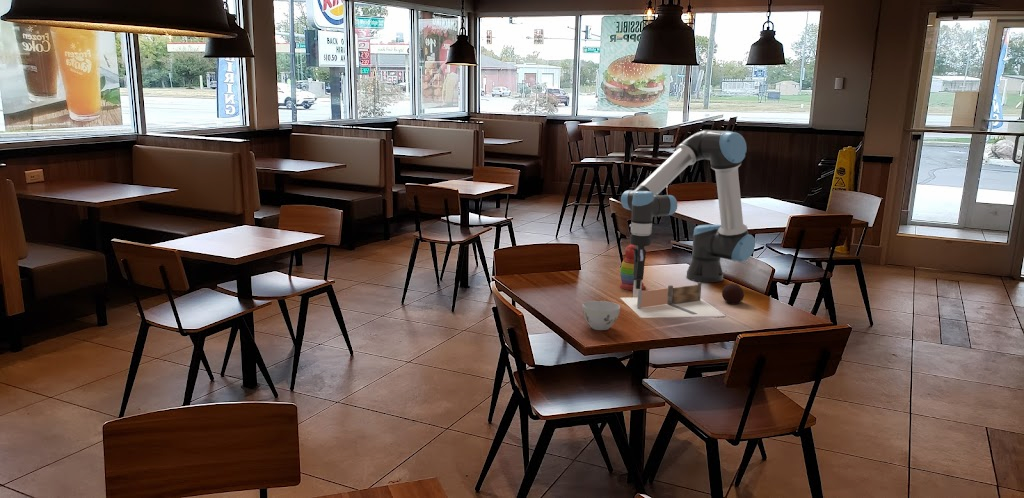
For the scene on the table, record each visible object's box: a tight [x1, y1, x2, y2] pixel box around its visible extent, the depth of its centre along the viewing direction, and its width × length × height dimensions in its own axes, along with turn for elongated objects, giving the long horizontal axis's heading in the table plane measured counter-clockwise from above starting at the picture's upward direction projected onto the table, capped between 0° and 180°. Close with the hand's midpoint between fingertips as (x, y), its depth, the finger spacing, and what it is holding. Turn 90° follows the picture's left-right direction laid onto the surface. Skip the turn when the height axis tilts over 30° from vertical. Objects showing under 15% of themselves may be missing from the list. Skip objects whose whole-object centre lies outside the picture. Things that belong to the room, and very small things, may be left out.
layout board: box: [620, 296, 727, 319], centre depth 279 cm, size 31×26×1 cm
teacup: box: [581, 300, 621, 331], centre depth 254 cm, size 15×12×8 cm
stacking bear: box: [619, 244, 647, 291], centre depth 305 cm, size 11×10×18 cm
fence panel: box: [637, 287, 668, 308], centre depth 277 cm, size 13×1×7 cm, turn 118°
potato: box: [721, 283, 745, 305], centre depth 286 cm, size 8×9×8 cm
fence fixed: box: [667, 281, 703, 305], centre depth 284 cm, size 16×2×7 cm, turn 118°
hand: (636, 296), depth 282 cm, fingers closed
